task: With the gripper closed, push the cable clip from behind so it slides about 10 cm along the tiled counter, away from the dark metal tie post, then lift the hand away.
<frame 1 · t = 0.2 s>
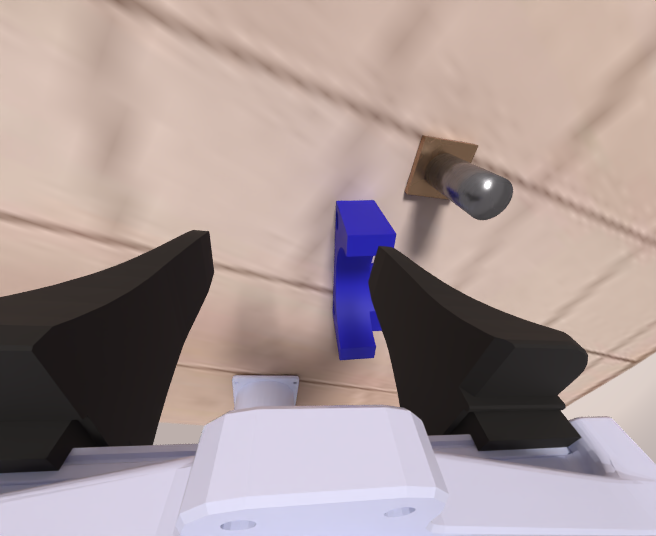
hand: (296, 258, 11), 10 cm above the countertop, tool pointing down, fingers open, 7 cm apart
tie post: (437, 168, 20), on the countertop
cable clip: (357, 261, 24), on the countertop
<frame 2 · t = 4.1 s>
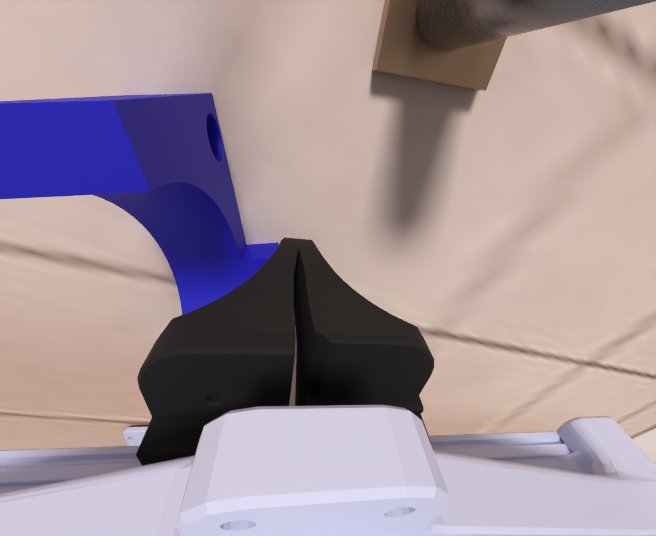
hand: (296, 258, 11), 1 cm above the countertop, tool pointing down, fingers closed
tie post: (447, 3, 8), on the countertop
cable clip: (231, 242, 13), on the countertop
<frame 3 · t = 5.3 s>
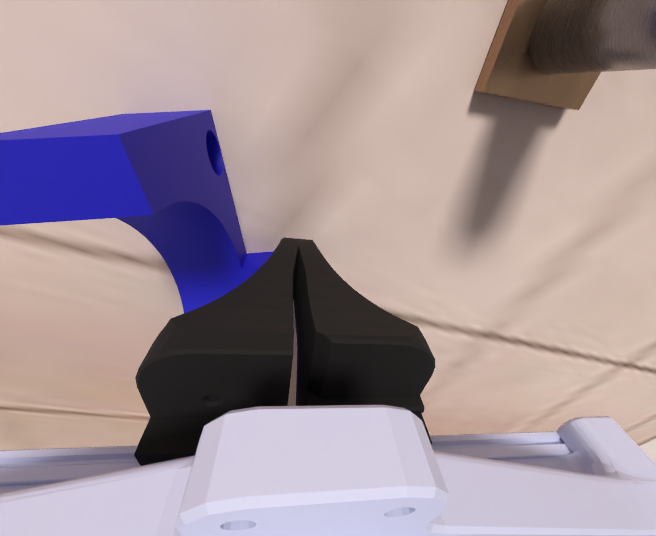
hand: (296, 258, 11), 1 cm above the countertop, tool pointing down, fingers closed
tie post: (553, 31, 9), on the countertop
cable clip: (232, 250, 13), on the countertop
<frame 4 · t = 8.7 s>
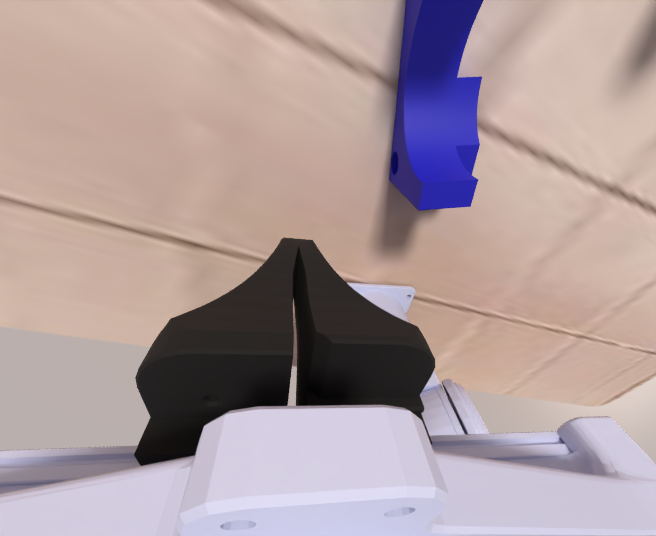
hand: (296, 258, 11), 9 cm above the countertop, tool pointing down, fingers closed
cable clip: (431, 79, 16), on the countertop
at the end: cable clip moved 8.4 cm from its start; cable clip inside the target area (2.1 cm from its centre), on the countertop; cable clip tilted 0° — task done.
